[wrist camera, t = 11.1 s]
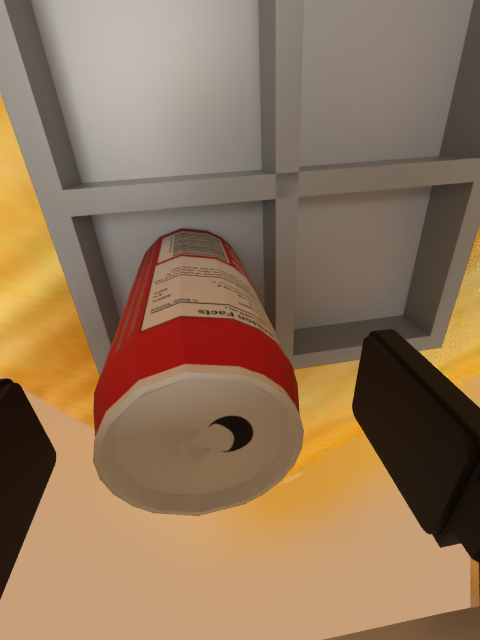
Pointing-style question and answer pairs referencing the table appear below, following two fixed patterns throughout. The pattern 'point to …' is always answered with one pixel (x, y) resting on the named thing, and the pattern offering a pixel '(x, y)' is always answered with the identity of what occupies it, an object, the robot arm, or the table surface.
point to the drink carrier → (257, 152)
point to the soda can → (194, 386)
